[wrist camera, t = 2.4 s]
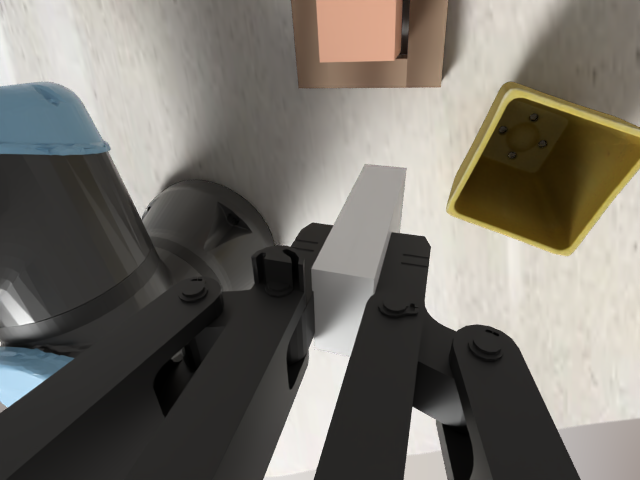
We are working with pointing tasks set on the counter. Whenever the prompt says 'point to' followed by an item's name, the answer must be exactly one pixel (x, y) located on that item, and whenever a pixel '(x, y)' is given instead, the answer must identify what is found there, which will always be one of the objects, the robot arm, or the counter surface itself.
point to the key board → (401, 73)
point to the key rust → (359, 30)
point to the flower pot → (544, 169)
